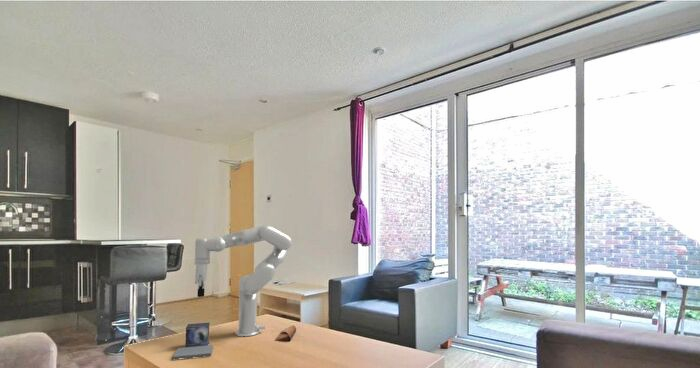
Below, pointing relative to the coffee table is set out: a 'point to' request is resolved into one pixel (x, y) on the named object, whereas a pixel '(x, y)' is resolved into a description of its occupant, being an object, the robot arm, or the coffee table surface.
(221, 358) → the coffee table surface
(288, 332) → the sunglasses case
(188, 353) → the rubber pad
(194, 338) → the small box
